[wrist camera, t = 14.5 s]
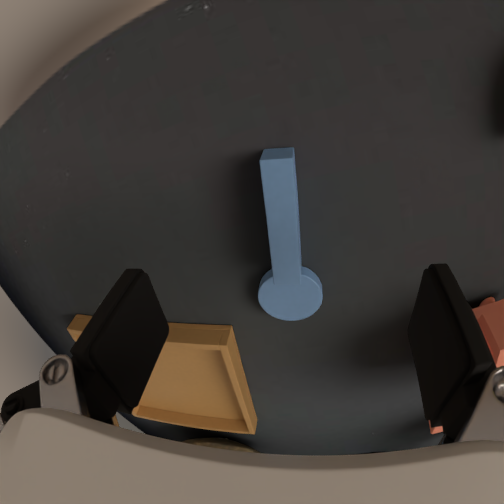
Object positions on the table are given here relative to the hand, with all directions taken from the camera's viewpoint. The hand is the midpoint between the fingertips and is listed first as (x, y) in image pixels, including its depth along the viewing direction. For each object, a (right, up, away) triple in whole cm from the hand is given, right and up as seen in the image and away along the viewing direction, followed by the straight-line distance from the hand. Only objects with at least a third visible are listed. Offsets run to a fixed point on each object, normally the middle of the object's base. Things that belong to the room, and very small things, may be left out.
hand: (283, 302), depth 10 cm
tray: (-9, -11, +18) cm, 23 cm away
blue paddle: (+1, +2, +8) cm, 8 cm away
